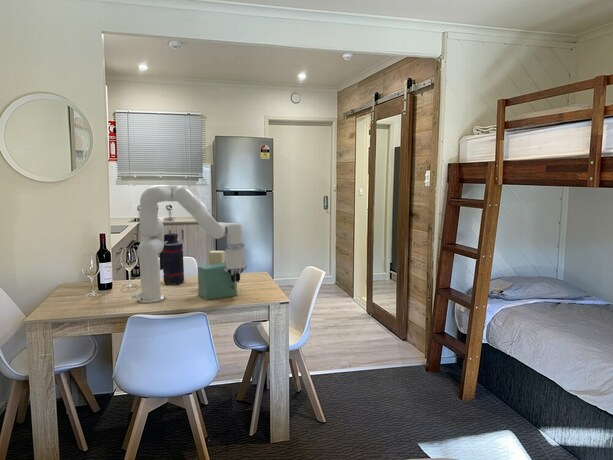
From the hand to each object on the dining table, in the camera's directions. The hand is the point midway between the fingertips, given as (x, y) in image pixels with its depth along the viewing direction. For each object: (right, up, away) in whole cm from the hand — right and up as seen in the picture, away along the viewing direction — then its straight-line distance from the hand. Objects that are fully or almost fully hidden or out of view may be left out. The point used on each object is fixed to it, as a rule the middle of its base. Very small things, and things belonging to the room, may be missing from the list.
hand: (235, 281), depth 231 cm
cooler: (-12, -8, +9) cm, 17 cm away
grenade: (-44, -5, +38) cm, 58 cm away
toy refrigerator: (-14, -7, +26) cm, 30 cm away
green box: (-7, -9, +1) cm, 11 cm away
